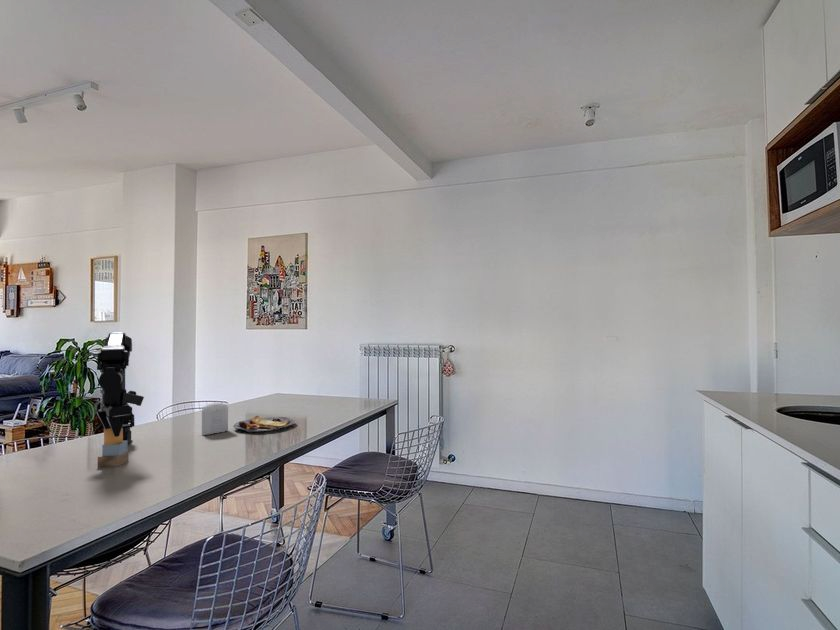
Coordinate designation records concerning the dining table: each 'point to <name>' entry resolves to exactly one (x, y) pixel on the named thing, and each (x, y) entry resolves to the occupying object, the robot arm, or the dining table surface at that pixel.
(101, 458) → the walnut base block
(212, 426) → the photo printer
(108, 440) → the orange cylinder
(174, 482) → the dining table surface
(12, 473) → the dining table surface
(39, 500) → the dining table surface
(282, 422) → the food plate
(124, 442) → the slate top block
